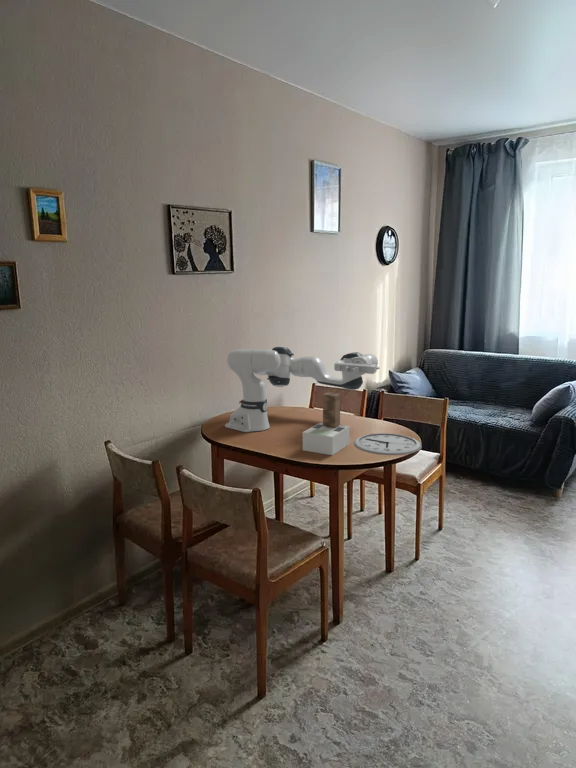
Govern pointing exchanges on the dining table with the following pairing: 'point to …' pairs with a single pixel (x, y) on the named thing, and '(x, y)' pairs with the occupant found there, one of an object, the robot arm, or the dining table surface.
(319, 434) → the box
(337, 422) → the walnut post
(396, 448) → the wall clock
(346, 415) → the dining table surface
